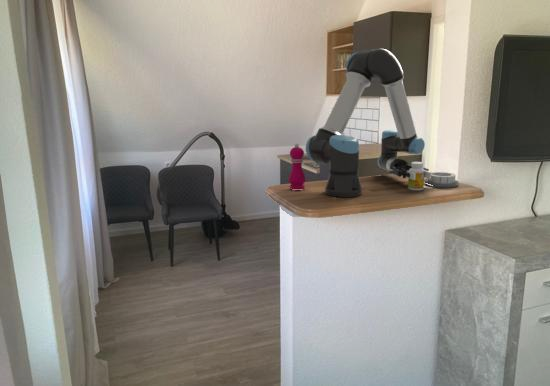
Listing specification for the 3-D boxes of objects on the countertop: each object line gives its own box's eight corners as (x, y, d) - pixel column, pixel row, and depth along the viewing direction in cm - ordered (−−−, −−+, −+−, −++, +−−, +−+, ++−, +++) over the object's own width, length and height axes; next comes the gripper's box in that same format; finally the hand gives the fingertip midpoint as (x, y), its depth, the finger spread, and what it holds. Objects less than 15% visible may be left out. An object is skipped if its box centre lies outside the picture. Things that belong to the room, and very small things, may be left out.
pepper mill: (303, 187, 185) (303, 142, 180) (307, 190, 178) (306, 144, 173) (287, 188, 184) (286, 142, 179) (290, 191, 177) (289, 144, 172)
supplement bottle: (405, 189, 176) (406, 163, 174) (411, 186, 181) (412, 160, 178) (419, 191, 172) (421, 164, 170) (425, 188, 177) (427, 162, 174)
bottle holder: (426, 187, 179) (427, 177, 177) (421, 180, 192) (422, 171, 191) (461, 188, 176) (462, 177, 175) (454, 181, 189) (454, 171, 188)
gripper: (416, 173, 195) (443, 183, 172) (377, 175, 192) (400, 186, 170) (417, 157, 193) (445, 165, 171) (378, 159, 190) (401, 168, 168)
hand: (422, 176), depth 170 cm, fingers closed on supplement bottle, 6 cm apart
